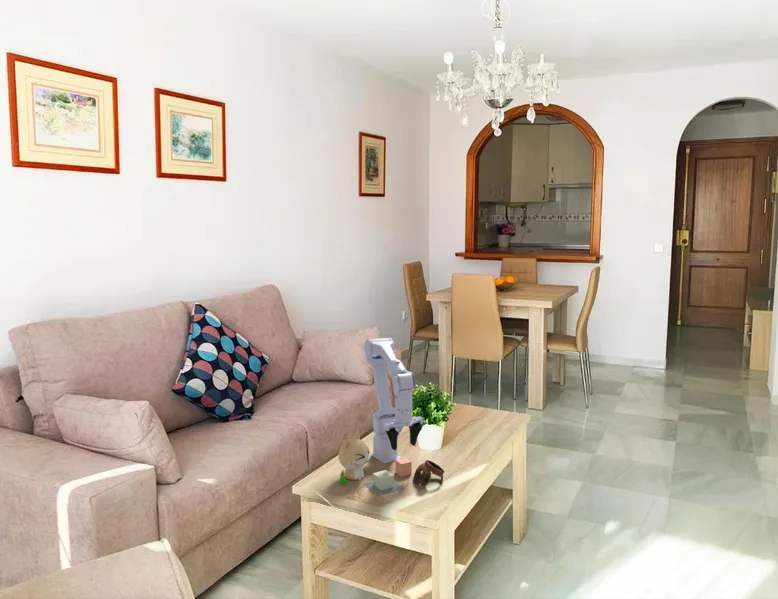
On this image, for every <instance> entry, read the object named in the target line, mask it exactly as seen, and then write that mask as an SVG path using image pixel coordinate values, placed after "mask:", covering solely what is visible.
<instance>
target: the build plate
mask: <svg viewBox="0 0 778 599" xmlns="http://www.w3.org/2000/svg"><path fill="white" fill-rule="evenodd" d="M362 485H363V486H365V487H366V488H368V489H369V490H370V491H371V492H373V493H374V494H376V495H377V496H382V495H385V494H389V493H392V492H396V491H400V490H404V489H405V487H403V485H401V484H400V483H398V482H396V481H395V480H394V487H392V488H389V489H385V490H379V489H378V488H377V487H375V486H374V485H373V480H372V481H369V482H364V483H362Z"/></svg>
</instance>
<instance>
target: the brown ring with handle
mask: <svg viewBox="0 0 778 599" xmlns="http://www.w3.org/2000/svg"><path fill="white" fill-rule="evenodd" d="M444 473H445V470H444V469H443V468H442V467H441V466H440V465H438V464H437V463H436V462H434V461H432V460H428V459H426V460H425V461H424V462H423V463H420V464H419V465H418V466H417V468H416V469H415V472H414V474H413V478H412V482H413V484H414V485H417V486H420V485H421V486H422V487H425V486H427V485H428V482H429V480H430V479H431V477H432V474H433V475H434V476H437V477H439V478H440V480H439V485H441V484H443V482H444ZM419 484H420V485H419Z"/></svg>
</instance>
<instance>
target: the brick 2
mask: <svg viewBox="0 0 778 599" xmlns="http://www.w3.org/2000/svg"><path fill="white" fill-rule="evenodd" d="M394 462H395V463H394V465H395V467H394V469H395V470H394V473H395V474H396V475H398V476H400V477H401V478H402V477H406V476H410V475H412V468H413V467H412V461H411V460H409V459H408V458H406V457H402V459H398V460H395V461H394Z"/></svg>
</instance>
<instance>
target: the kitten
mask: <svg viewBox="0 0 778 599" xmlns="http://www.w3.org/2000/svg"><path fill="white" fill-rule="evenodd" d="M339 448H340V449H339V451H338V461H339V463H340V465H341V467H343V468H345V469H342V470H341V472H340V476H339V484H340V485H342V486H347V485H348V480H349V481H350V480H351V481H357V480H358V481H361V480H363V479H364V478H365V473H364V469H363V466H365V465H366V464H367V462H368V461H369V456H370V449H369V447H368V445H367V444H366V443H365V442H364V441H363V440H362V439H361V437H360V431H359V430H357V431H355V433H354V435H353V437H352V438H349V439H342V440H341V445H340V447H339ZM347 479H348V480H347Z"/></svg>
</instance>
